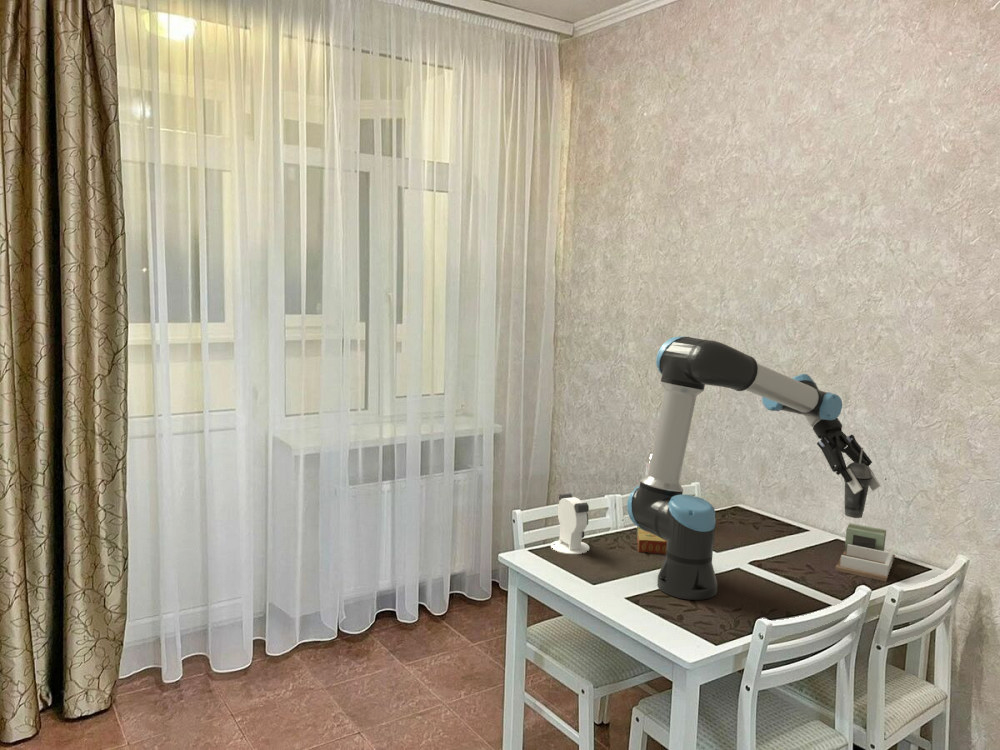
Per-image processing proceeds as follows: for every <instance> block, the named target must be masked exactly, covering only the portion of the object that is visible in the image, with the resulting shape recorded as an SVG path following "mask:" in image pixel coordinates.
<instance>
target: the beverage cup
mask: <svg viewBox="0 0 1000 750" xmlns="http://www.w3.org/2000/svg"><path fill="white" fill-rule="evenodd" d="M863 451H864V447H861V453H860V460H859V462H853V461H852V462H850V463H849V464H848V465H846V467H847V469H850V470H851V471H852V473H853V474H854V476H855V478H856V479H857V481H858V482H859V484H860V485H861V487H862V490H861V491H859V492H858V493H856V494H854V493H853V491H852V490H851V488H850V487H849V485H848V483H847V482H846V481H845V480H844V481H843V482H844V515H845V516H846V517H849V518H853V519H861V518H863V515H864V514H863V513H864V510H865V506H866V502H867V495H868V491H869V488H870V486H869V485H870V482H871V479H872V477H871V471H872V470H871V471H870V469H871V468H870V469H869V467H870V466H869V467H868V466H867V465H866V464H864V463H862V462H861V459H862V453H863ZM847 469H846V470H847Z"/></svg>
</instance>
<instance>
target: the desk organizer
mask: <svg viewBox="0 0 1000 750" xmlns="http://www.w3.org/2000/svg"><path fill="white" fill-rule="evenodd" d="M845 531H846V532H845V541H844V551H843V553H842V554H841V555H844V556H849V557H854V558H859V559H864V558H860V557H855V556H850V555H846V554H847V545H848V544H850V545H855V546H860V547H865V548H870V549H875V550H881V551H885V548H886V547H885V545H886V536H887V529H883V528H877V527H874V526H873V527H872V526H866V525H861V524H857V523H850V522H849V523H848V525H847V526H846V530H845ZM894 558H895V559H896V554H893V560H892V564H893V565H894V562H893V561H895V559H894ZM864 560H868V561H873V562H878V563H883V564H885V563H884V562H879V561H874V560H869V559H864ZM840 562H841V557H840V558H839V560H838V562H837V564H836V565H835V569H834V571H835V572H840V573H846V574H850V575H854V576H859V577H864V578H869V579H872V578H873V580H878V581H881V582H887V581H888V578H889V576H890V573H888V575H889V576H883V575H879V574H874V573H869V572H865V571H860V570H855V569H851V568H846V567H841V566H840ZM893 565H891V568H890V569H891V570H892V568H893ZM891 570H889V572H891Z"/></svg>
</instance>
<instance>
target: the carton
mask: <svg viewBox="0 0 1000 750" xmlns="http://www.w3.org/2000/svg"><path fill="white" fill-rule="evenodd" d="M636 541H637V543H638V544H637V552H638V553H644V552H649V553H648V554H656V553H660V554H659V555H666V548H667V541H666V540H664V539H662V538H660V537H658V536H656V535H654V534H652V533H650V532H646V531H644V530H642V529H641V528H640V527H638V526H637V525H636Z"/></svg>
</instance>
